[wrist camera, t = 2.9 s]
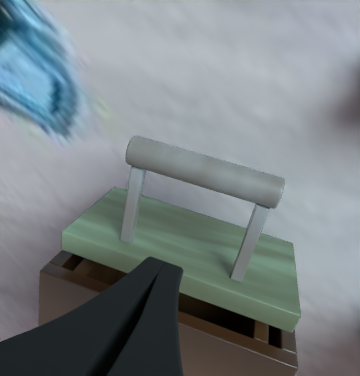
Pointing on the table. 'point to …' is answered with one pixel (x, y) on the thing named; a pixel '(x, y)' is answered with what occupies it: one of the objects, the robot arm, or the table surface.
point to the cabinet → (187, 325)
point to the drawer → (194, 241)
